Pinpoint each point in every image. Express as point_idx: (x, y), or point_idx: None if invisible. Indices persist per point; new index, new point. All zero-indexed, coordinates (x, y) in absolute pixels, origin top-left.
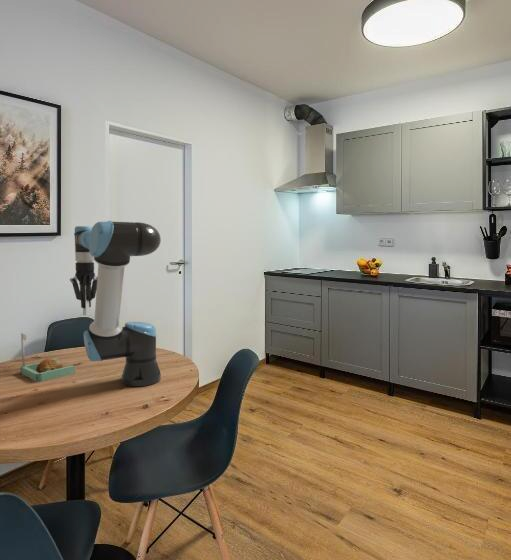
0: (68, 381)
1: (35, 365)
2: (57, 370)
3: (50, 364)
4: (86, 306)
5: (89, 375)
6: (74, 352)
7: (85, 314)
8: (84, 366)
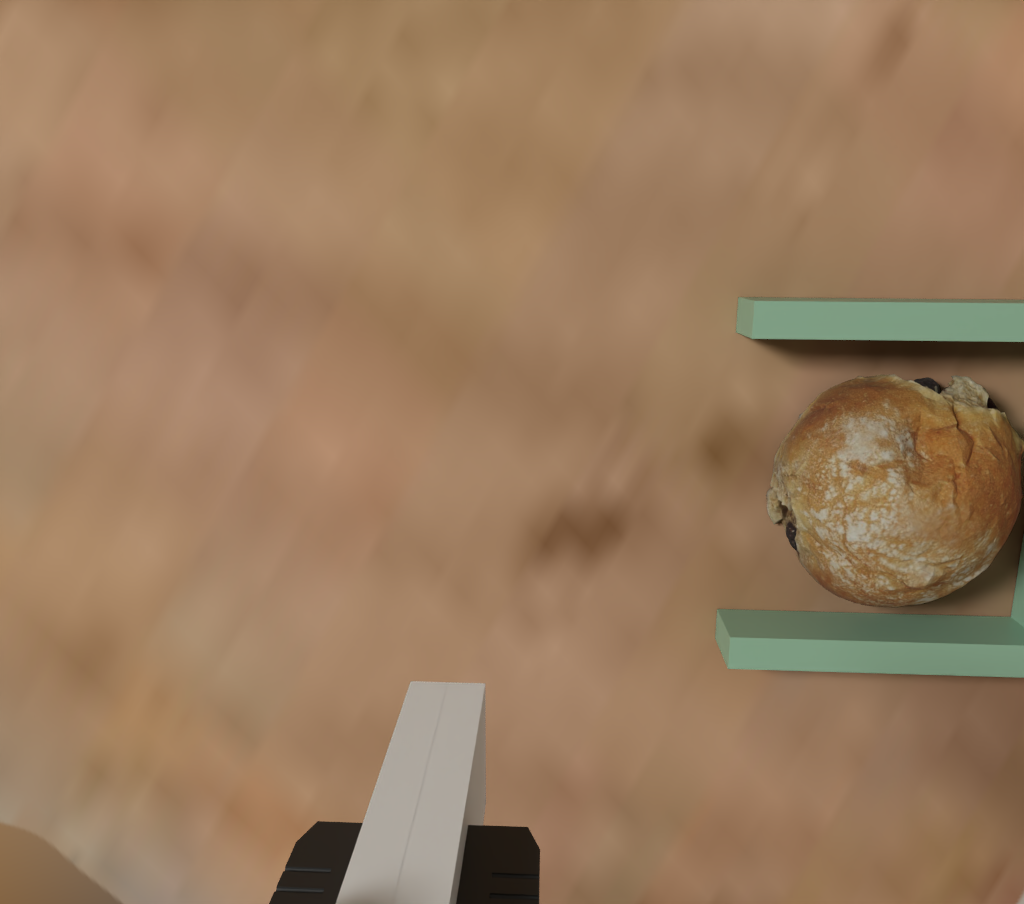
0: (915, 102)
1: (949, 638)
2: (935, 303)
3: (954, 429)
4: (449, 817)
5: (690, 119)
6: None
7: (484, 725)
8: (568, 421)
